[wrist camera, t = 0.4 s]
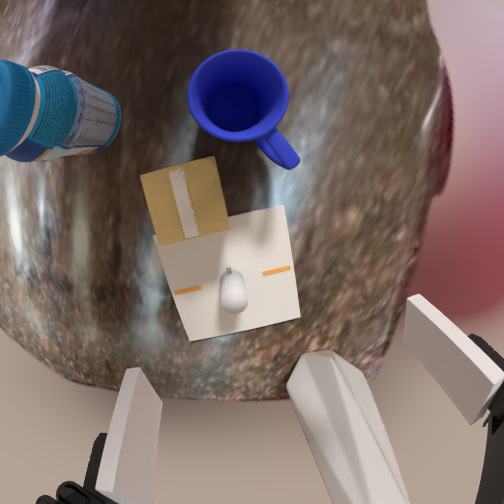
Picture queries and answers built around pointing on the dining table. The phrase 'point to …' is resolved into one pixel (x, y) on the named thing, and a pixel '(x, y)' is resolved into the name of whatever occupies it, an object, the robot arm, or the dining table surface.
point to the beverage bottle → (53, 114)
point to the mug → (242, 102)
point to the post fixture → (233, 276)
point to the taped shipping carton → (186, 200)
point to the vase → (345, 431)
